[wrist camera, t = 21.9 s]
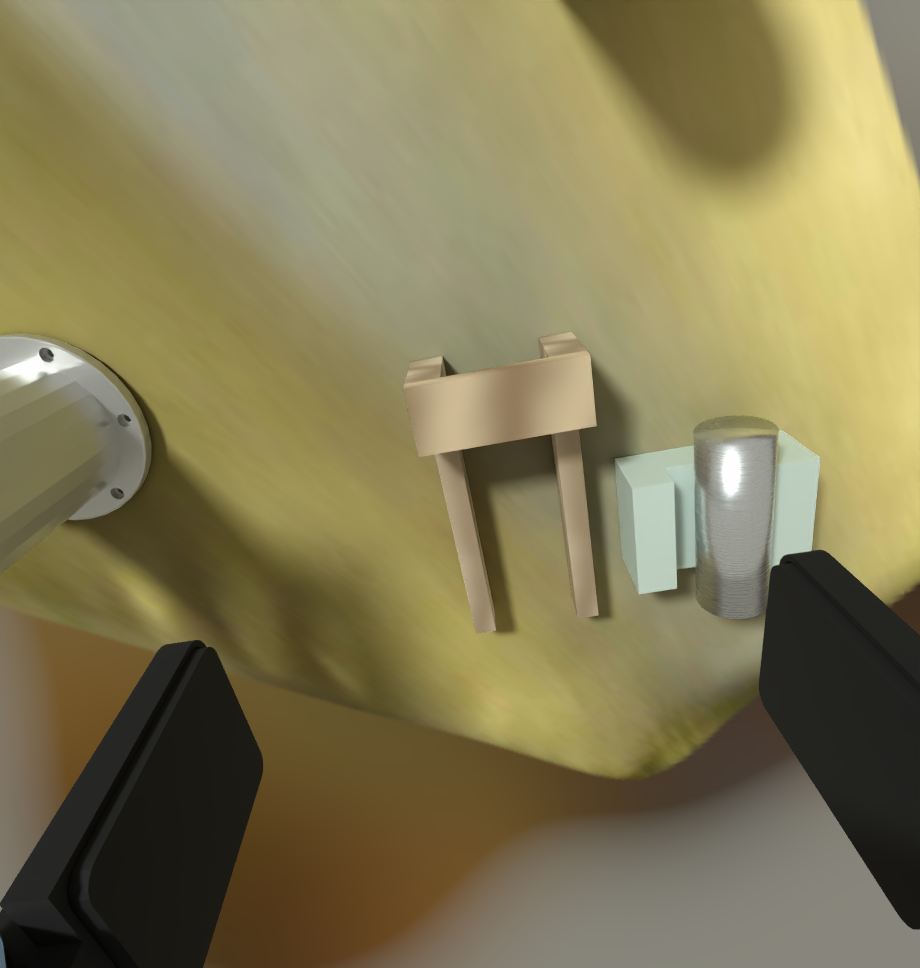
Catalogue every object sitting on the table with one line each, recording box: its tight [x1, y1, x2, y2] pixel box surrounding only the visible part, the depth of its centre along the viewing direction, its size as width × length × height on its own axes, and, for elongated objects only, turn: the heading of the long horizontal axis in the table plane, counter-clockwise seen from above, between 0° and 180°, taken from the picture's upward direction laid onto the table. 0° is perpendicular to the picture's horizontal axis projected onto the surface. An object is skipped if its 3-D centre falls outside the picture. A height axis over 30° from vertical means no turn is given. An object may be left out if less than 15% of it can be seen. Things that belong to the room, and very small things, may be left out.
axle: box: [693, 416, 779, 619], centre depth 36 cm, size 12×4×4 cm, turn 11°
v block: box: [615, 430, 820, 594], centre depth 38 cm, size 11×8×4 cm
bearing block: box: [403, 332, 598, 633], centre depth 37 cm, size 10×20×6 cm, turn 11°
